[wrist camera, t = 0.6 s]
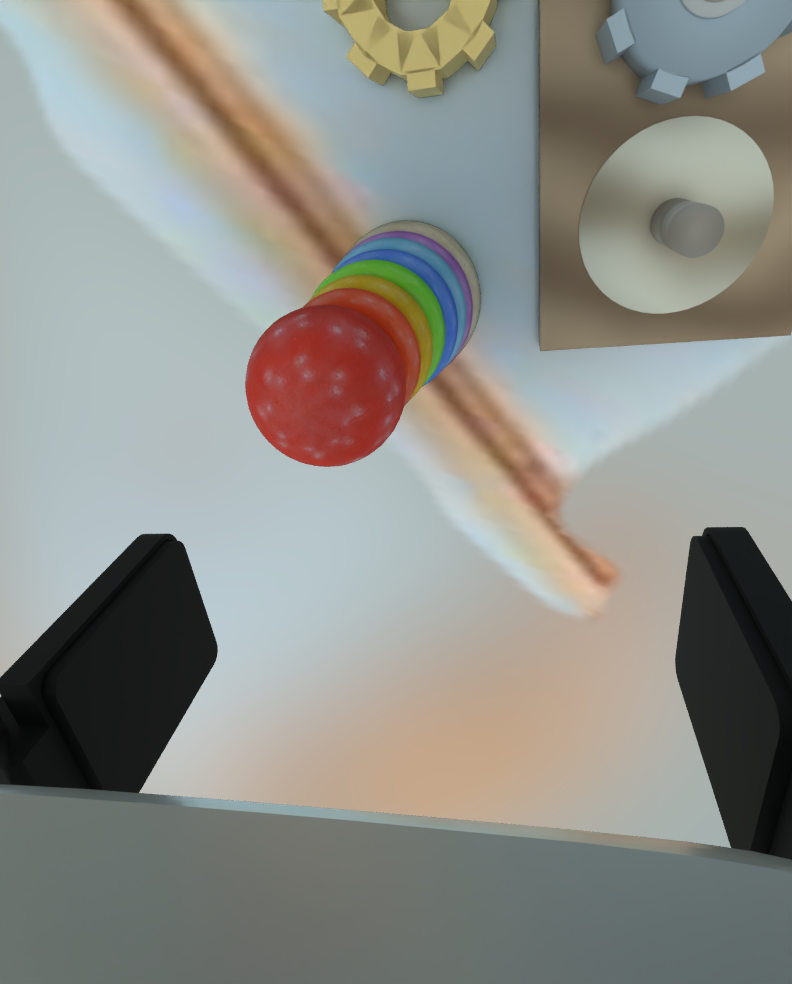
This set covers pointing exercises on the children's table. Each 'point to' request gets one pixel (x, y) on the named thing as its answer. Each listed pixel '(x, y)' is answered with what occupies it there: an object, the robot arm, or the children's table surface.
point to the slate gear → (692, 42)
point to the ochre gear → (416, 42)
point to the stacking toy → (363, 344)
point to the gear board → (658, 198)
